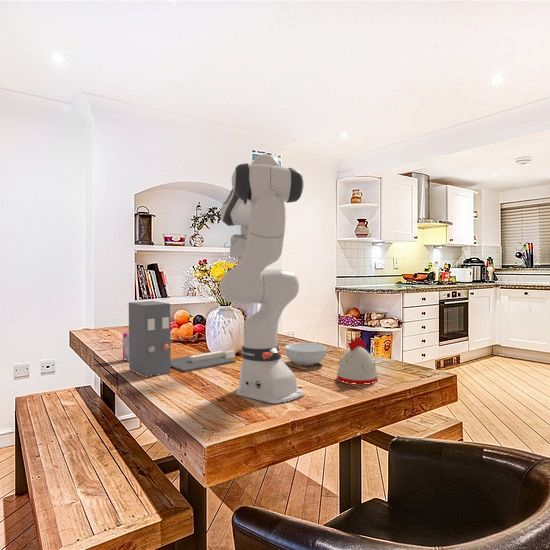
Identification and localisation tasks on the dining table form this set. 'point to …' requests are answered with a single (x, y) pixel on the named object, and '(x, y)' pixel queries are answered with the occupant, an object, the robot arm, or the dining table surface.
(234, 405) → the dining table surface
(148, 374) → the switch panel
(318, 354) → the cereal bowl
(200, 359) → the paddle lever
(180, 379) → the dining table surface
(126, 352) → the supplement box
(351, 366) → the beanie hat
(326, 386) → the dining table surface
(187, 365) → the rubber mat
